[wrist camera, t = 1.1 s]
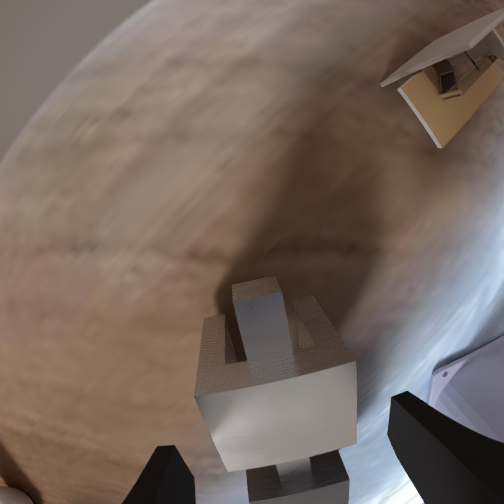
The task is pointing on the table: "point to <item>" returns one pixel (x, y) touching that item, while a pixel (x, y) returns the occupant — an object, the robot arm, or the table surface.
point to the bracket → (278, 394)
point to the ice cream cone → (13, 496)
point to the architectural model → (465, 89)
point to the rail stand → (267, 344)
